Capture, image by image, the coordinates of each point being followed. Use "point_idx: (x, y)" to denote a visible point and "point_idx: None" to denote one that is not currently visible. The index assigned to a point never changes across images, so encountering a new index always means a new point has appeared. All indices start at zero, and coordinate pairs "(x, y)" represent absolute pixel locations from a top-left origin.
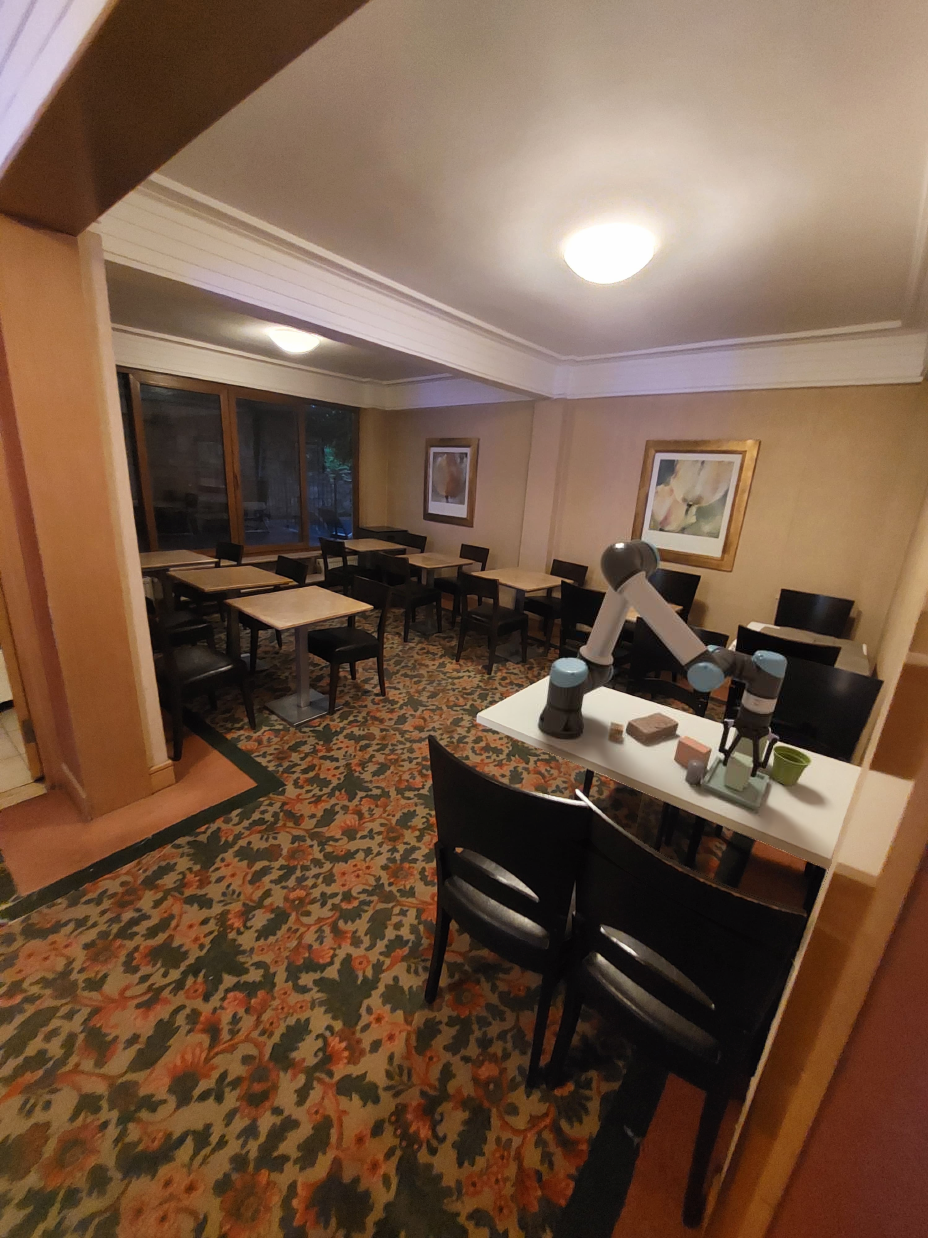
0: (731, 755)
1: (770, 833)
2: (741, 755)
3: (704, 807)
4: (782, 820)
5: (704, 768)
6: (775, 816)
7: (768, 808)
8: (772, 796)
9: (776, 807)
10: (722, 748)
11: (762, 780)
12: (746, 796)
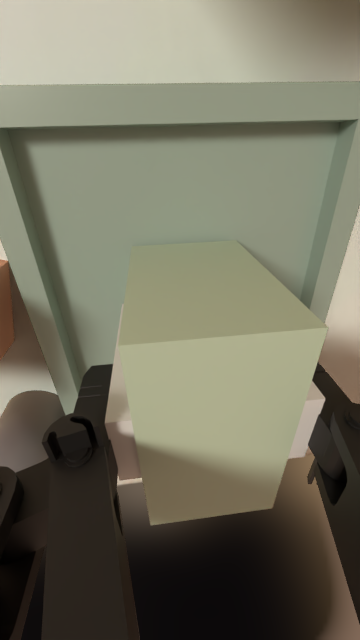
0: (117, 430)
1: (310, 449)
2: (202, 375)
3: (139, 481)
4: (357, 381)
5: (5, 298)
6: (337, 378)
7: (320, 354)
8: (354, 253)
9: (353, 326)
10: (18, 593)
11: (329, 154)
12: None
